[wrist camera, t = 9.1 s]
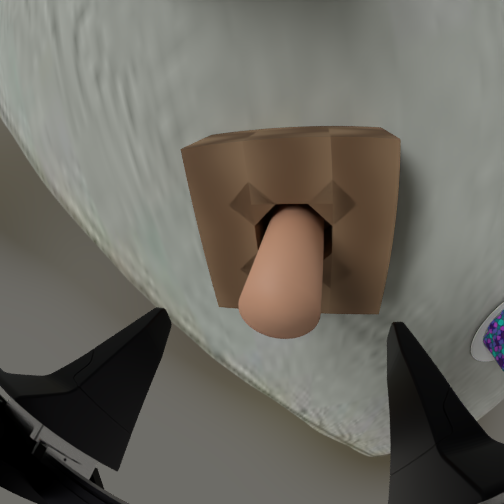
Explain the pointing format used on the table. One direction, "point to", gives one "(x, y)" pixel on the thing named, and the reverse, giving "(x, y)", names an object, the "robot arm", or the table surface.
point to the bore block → (299, 192)
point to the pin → (286, 275)
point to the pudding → (490, 339)
